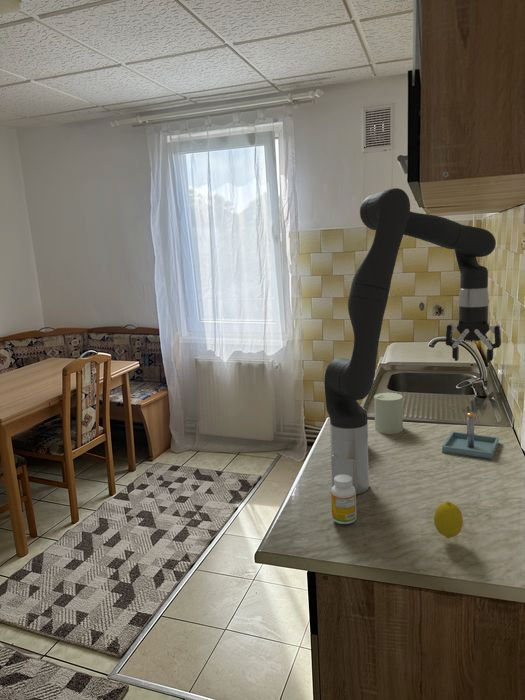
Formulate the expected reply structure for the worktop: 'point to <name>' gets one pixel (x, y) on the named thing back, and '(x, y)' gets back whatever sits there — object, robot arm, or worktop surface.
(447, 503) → the lemon
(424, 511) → the worktop surface
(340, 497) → the supplement bottle
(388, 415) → the can
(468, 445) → the orange-topped grey cylinder
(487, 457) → the tray
